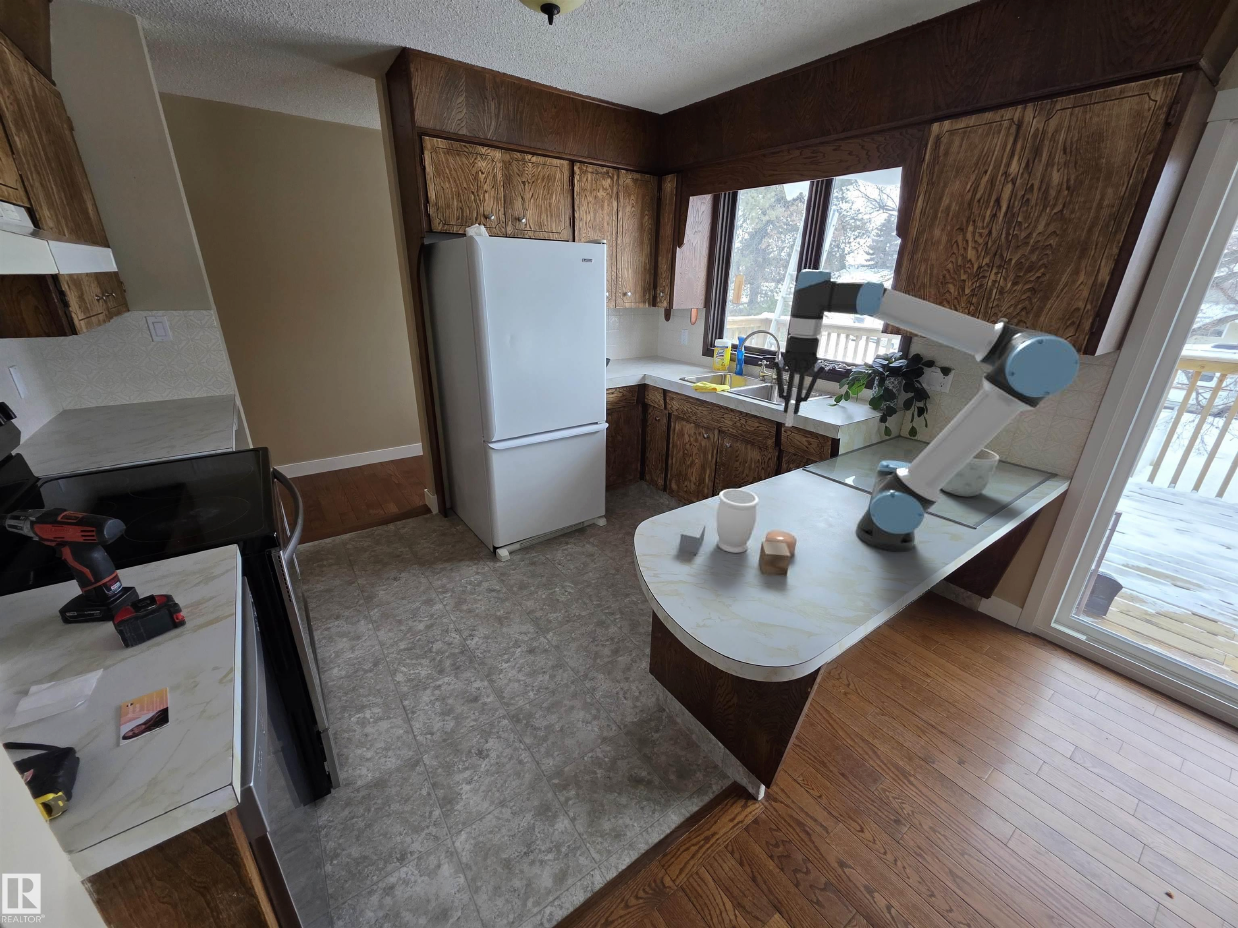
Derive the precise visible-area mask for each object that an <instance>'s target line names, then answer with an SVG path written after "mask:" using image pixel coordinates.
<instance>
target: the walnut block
mask: <svg viewBox="0 0 1238 928" xmlns="http://www.w3.org/2000/svg"><path fill="white" fill-rule="evenodd" d="M759 550H760V552H759V558H758V563H759V566H760V567H759V568H760V570H761V573H762V575H770V576H772V575H773V576H780V577H781V576H783V577H787V576H788V571H789V568H790V567H789V566H790V561H791V557H790V556H791V555H790V553H789V550H788V548H787V545H786V543H777V542H765V540H764V541H761V546H760V549H759Z"/></svg>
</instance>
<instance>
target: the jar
mask: <svg viewBox="0 0 1238 928" xmlns="http://www.w3.org/2000/svg"><path fill="white" fill-rule="evenodd" d="M718 499H719V503H718V506H717V511H716V533H717V536H718V539H717V541H716V544H717V546H718V547H719V548H720V549H721V550H722V551H725V552H728V553H733V554H737V553H743V552H745V551H747V549H748V547H749V546H748V542H749V541H750V539H751V537H752V535H753V531H754V528H755V526H756V525H755V524H756V521H757V506H758V504H759V497H758V496H757V495H756V494H755V493H753V492H751V491H749V490H746V489H745V490H744V489H742V488H729V489H727V488H726V489H723V490H722V491H720V492H719V495H718Z"/></svg>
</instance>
